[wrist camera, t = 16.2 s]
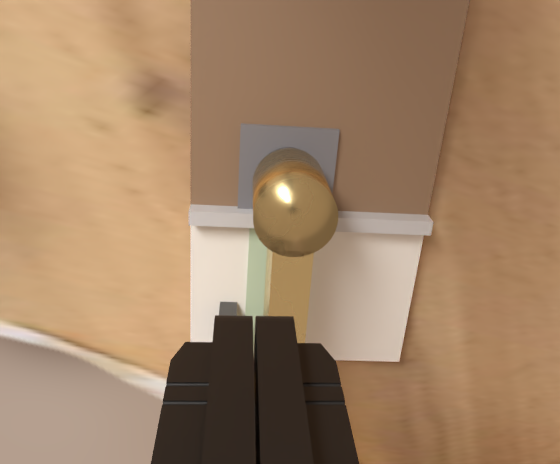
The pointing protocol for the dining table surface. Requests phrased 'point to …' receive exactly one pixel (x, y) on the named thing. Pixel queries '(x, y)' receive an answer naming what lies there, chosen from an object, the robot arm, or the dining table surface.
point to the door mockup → (320, 152)
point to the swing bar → (291, 228)
